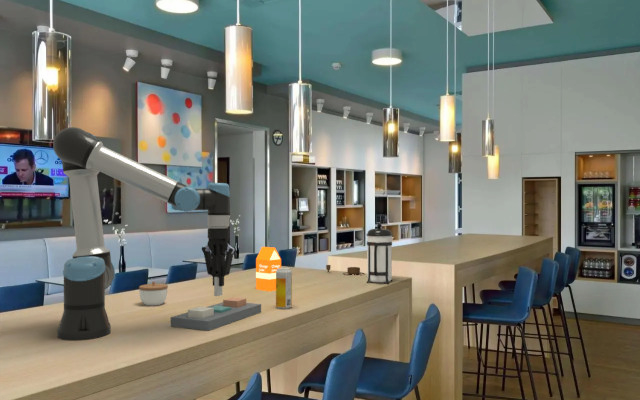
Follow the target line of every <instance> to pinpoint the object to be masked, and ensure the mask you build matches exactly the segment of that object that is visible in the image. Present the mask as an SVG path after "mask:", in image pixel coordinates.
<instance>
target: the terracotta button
mask: <svg viewBox="0 0 640 400" xmlns="http://www.w3.org/2000/svg"><path fill="white" fill-rule="evenodd" d="M222 302H223V306H225V307H236V308H238V307H241V306H244V305H246V303H247V298H246V297H245V298H243V297H233V296H232V297H230V298H226V299H223V300H222Z"/></svg>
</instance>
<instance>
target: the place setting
mask: <svg viewBox="0 0 640 400" xmlns="http://www.w3.org/2000/svg"><path fill="white" fill-rule="evenodd" d="M325 268H326V271H327V272H329V273H330V271H331V268H332V267H331V264H326V265H325ZM350 274H358V275H360V274H364V275H365V273H364V272H361V267H358V266H349V267H347V272H346V271H345V272H343V273H342V275H343V276H349V275H350Z"/></svg>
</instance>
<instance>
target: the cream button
mask: <svg viewBox="0 0 640 400" xmlns="http://www.w3.org/2000/svg"><path fill="white" fill-rule="evenodd" d="M207 307H208V306H196V307H193V308H190V309H187V312H188V317H194V318H206V317H209V316H212V315H214V308H207Z"/></svg>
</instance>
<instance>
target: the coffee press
mask: <svg viewBox="0 0 640 400" xmlns="http://www.w3.org/2000/svg"><path fill="white" fill-rule="evenodd" d="M382 225H383V224H382V223H377V225H376V226H377V228H370V229H369V230H368V231H367V233H366V237H367V240H366V245H367V246H366V247H367V248H366V251H367V256H366V258H367V261H366V262H367V263H366V264H367V268H366V269H367V272H366V273H367V281H366V284H369V283H370V284H372V283H382V284H385V283H387V284H386V285H390V282H393V278H392V274H393V273H392V269H393V266H392V265H393V264H392V258H393V257H392V254H393V252H392V250H393V249H392V246H393V241H392V239H393V238H392V237H393V233H392V231H391V230H389V229H387V228H382Z"/></svg>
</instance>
